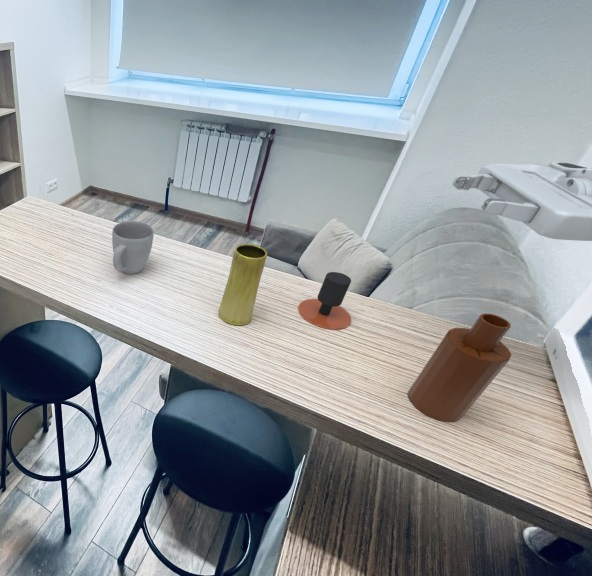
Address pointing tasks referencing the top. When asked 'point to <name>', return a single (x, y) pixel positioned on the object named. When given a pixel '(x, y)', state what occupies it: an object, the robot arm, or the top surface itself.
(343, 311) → the coaster
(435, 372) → the bottle
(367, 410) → the top surface
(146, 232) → the mug
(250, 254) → the vase
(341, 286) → the stopper
